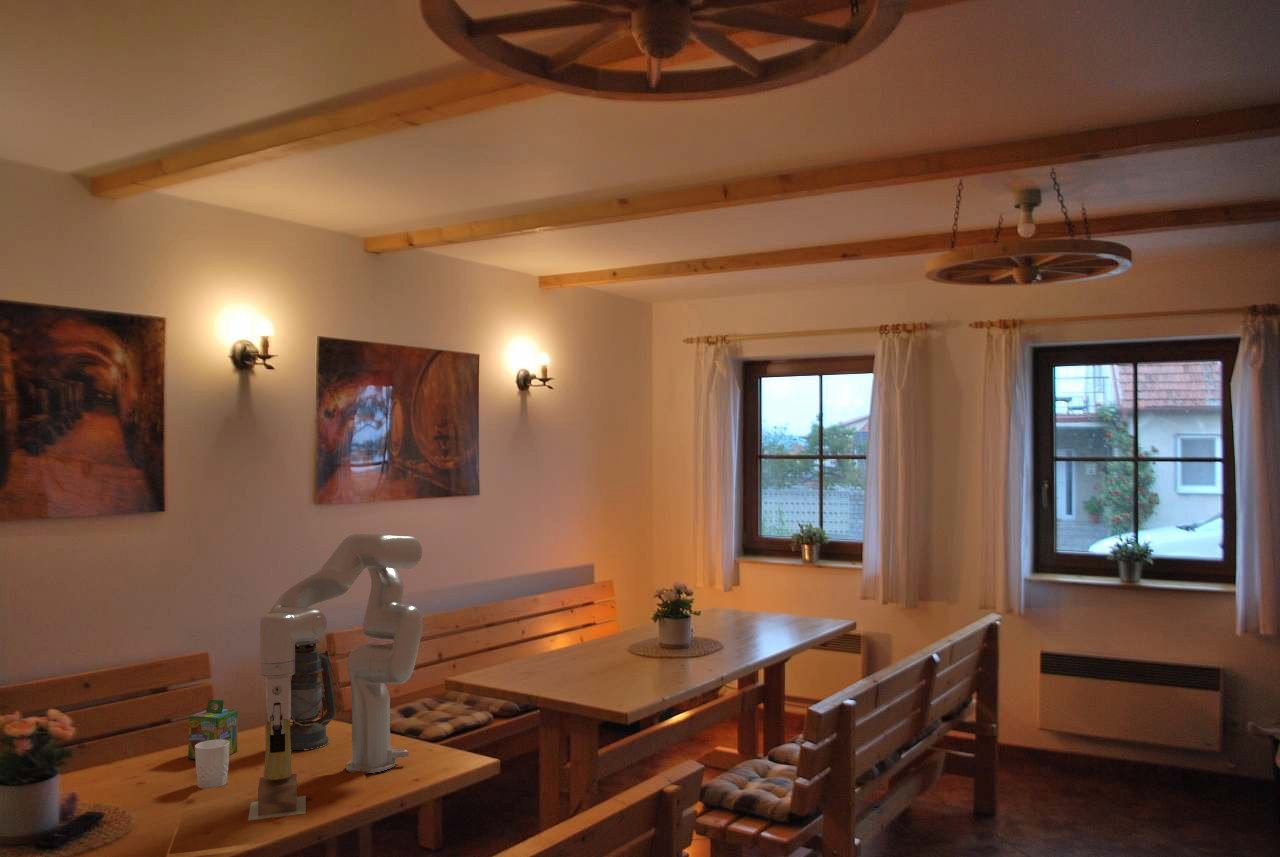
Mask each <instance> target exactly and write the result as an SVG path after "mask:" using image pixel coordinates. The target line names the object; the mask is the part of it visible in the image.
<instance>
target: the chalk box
mask: <svg viewBox="0 0 1280 857" xmlns="http://www.w3.org/2000/svg"><path fill="white" fill-rule="evenodd" d="M214 705H217V706H218V707H217V708H213V707H212V706H214ZM206 706H207V707H206V709H205V710H202V711H200V712H196V713H194V714H192V715H189V717H188V750H187V752H188V754H187V759H189V760H196V759H195V745H196V744H198V743H200V742H204V741H208V740H217V739H222V740H228V741H229V742H230V744H229V756H231V755H233V754H235V753H237V752H238V730H239V729H238V726H239V724H238V723H239V722H238V721H239V717H238V716H239V711H238V709H229V708H224V700H223V699H208V701H207V705H206ZM236 751H237V752H236ZM234 752H235V753H234Z"/></svg>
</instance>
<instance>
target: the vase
mask: <svg viewBox="0 0 1280 857" xmlns="http://www.w3.org/2000/svg"><path fill="white" fill-rule="evenodd" d="M270 717H271V716H270ZM273 720H274V718H273ZM280 720H282V717H280ZM290 722H291V719H290V720H287V719H284V733H285V751H284V752H277V753H270V735H271V722H269V721H268V717H267V712H266V713H265V716H264V724H265V726H264V728H265V738H264V740H265V755H264V756H265V758H264V769H263V777H264V778H265V779H267V780H280V779H284V778H287V777H290V776H291V775H292V774H293V771H292V751H291V739H290V724H291V723H290ZM280 724H281V723H280Z"/></svg>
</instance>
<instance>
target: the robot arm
mask: <svg viewBox="0 0 1280 857" xmlns="http://www.w3.org/2000/svg"><path fill="white" fill-rule="evenodd" d="M422 547H423V546H422V545H421V542H420V541H419V540H418V538H416V537H414V536H412V535H411V536H410V535H408V536H407V535H391V534H380V533H378V534H377V533H375V534H374V533H355V534H350V535H349V536H346V537H345V538H344V539H343V540H342V542H341V543H339V545H338V547H337V548H335V550H334V551H333V553H332V554H331V556H330V557H329V558H328V559H327V561H326V562H325V563H324V564H323V565H322V566H321V568H320V569H319V570H318V571H317V572H315V573H314V574H313V573H312V574H311V575H310V576H308V577H306V578H304V579H303V580H301V581H300V582H297V583H296V584H294V585H293V586H291V587H290V588H288V589H287V590H286V591H284V593H283V594H281V596H279V597H278V600H277V601H276V602H275V604H273V606H272V607H271V608H270V610H269V612H268V614H265V615H263V616H262V617H261V618H260V620H259V677H260V678H263V679H265V702H266V704H265V705H266V713H267V717H268V721H269V722H271V735H270V753H277V752H284V751H285V733H284V719H287V720H290V721H291V679H292V678H291V677H292V675H293V674H295V643H296V642H300V641H312V640H318V638H320V637H321V636H323V634H324V633H325V631H326V629H327V624H328V621H327V618H326V615H325V614H324V613H323V612H322V611H320V610H319V609H315V608H312V606H313V605H316V604H319V603H322V602H325V601H330V600H332V599H335V598H338V597H340V596H342V595H344V594H346V593H347V592H348V591H349V590H350V588H351V587H352V585H353V584H354V583H355V581H356V580H357V578H358V577H359V576H360V575H361V573H362V572H363V570H364V569H367V570H368V574H369V576H370V589H369V590H370V591H369V596H368V600H367V604H366V609H365V614H364V617H363V622H362V631H363V633H364V635H365V636H366V637H367V638H369V639H371V640H372V639H373V640H379V641H389V642H390V641H391V642H393V644H392V645H390V644H389V645H387V644H379V643H376V644H375V643H363V644H360V645H357V646H355V647H354V648H353V649H352V650H351V651H350V653H349V654H348V657H347V673H348V677H349V681H350V688H351V746H352V747H351V755H352V756H351V759H350V760H349V761H347V762H346V764H345V770H346V771H347V772H348V773H351V774H352V773H360V772H361V773H362V772H364V774H365V775H367V774H366V773H373V774H376V773H375V772H379V773H381V772H380V771H384V770H387V769H389V768H391V767H393V766H394V765H395V764H396V765H397V759H398V758H408V757H409V749H403V748H397V749H394V748H392V745H391V726H390V724H391V720H390V719H391V712H390V711H391V707H390V706H391V705H390V704H391V699H390V692H389V690H388V688H387V685H386V684H388V685H401V684H405V683H406V682H407V681H409V680H410V679H411V677H412V675H413V673H414V670H415V666H416V660H417V659H418V658H417V657H418V652H419V648H420V643H421V638H422V634H423V628H424V620H423V616H422V613H421V611H420V610H419V609H418V608H417V607H416V606H414V605H412V604H403V603H402V601H403V600H402V599H403V596H404V595H403V594H404V589H405V588H404V582H403V579H402V576H401V574H400V572H399V571H398V569H412V568H414V567H416V566H417V565H418V564H419V562H421V559H422V556H423V548H422ZM310 607H311V608H310ZM270 716H271V717H270ZM280 717H282V720H280ZM273 718H274V720H273ZM280 723H281V724H280ZM396 765H395V766H396ZM393 768H394V767H393ZM387 771H388V770H387ZM384 772H385V771H384Z"/></svg>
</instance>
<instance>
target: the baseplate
mask: <svg viewBox="0 0 1280 857" xmlns="http://www.w3.org/2000/svg"><path fill="white" fill-rule="evenodd" d="M306 798H307V796H306V795H302V796H301V795H299V796H297V805H296V811H295V812H287V813H278V814H270V815H262V816H258V800H256V801H251V802H250V805H249V811H248V812H249V813H248V818H247V821H253V820H254V821H255V820H264V819H271V818H279V817H288V816H295V815H303V814H306V812H307V811H306V810H307V808H306V807H307V806H306V804H307V802H306V801H307V799H306Z"/></svg>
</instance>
